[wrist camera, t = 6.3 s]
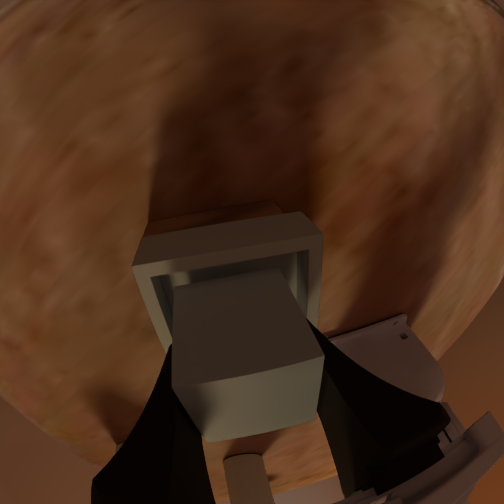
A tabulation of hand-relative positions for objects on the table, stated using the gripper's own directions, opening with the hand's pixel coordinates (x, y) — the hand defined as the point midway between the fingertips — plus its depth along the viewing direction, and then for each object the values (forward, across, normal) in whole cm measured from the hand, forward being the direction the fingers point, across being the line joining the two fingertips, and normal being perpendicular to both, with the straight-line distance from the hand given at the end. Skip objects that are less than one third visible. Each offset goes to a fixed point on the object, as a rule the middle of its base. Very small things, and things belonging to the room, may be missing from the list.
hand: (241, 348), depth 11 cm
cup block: (+4, 0, 0) cm, 4 cm away
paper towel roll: (+7, +4, +34) cm, 35 cm away
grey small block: (+2, 0, 0) cm, 2 cm away
